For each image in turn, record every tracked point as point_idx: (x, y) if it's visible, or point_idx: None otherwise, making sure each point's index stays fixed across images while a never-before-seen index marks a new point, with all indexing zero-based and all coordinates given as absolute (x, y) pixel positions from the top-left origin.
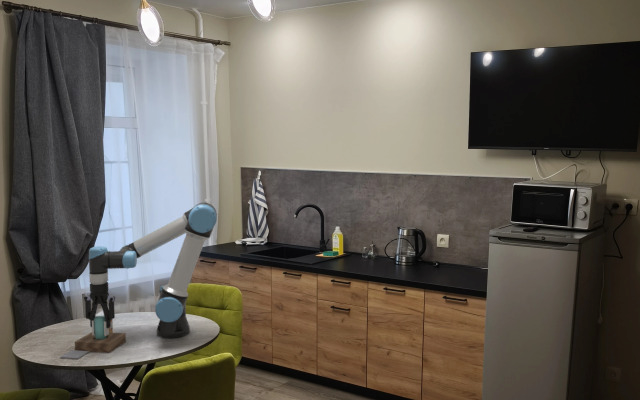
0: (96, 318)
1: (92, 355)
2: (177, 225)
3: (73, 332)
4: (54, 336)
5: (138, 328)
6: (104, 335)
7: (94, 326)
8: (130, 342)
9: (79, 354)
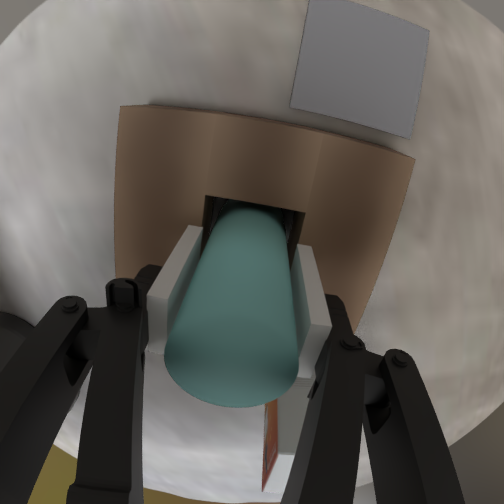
0: (261, 329)
1: (242, 56)
2: None
3: (431, 394)
4: (492, 351)
5: (177, 426)
6: (199, 228)
7: (300, 296)
8: None
9: (329, 50)
